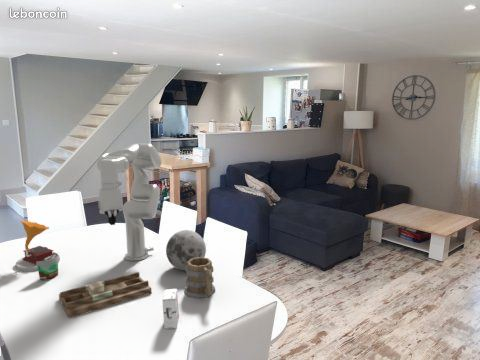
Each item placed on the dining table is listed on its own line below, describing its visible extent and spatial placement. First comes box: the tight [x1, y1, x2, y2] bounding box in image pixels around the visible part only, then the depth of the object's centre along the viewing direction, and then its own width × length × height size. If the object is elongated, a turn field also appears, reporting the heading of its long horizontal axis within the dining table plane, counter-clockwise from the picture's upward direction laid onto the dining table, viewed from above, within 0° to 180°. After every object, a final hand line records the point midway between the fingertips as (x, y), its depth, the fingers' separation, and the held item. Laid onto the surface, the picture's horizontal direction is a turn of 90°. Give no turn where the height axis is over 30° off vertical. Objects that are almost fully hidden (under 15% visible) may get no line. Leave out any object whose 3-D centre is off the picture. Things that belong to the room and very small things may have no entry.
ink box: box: [162, 288, 180, 330], centre depth 139 cm, size 9×5×12 cm, turn 5°
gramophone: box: [15, 219, 61, 272], centre depth 192 cm, size 20×20×25 cm
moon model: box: [165, 229, 207, 271], centre depth 186 cm, size 20×20×20 cm
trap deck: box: [58, 271, 153, 319], centre depth 159 cm, size 34×18×4 cm, turn 127°
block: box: [87, 280, 104, 296], centre depth 156 cm, size 5×5×4 cm
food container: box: [36, 251, 61, 281], centre depth 177 cm, size 12×6×10 cm, turn 168°
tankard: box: [184, 257, 216, 299], centre depth 160 cm, size 20×13×15 cm, turn 23°
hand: (112, 224), depth 172 cm, fingers closed
